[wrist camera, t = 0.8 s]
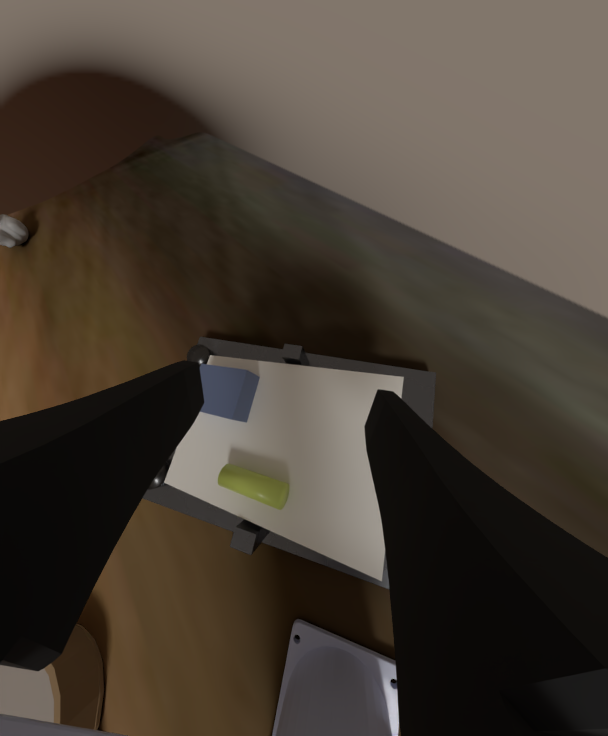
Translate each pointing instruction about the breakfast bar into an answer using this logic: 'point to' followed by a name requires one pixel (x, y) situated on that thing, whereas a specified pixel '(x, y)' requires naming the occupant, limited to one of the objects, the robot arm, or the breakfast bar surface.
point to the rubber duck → (12, 231)
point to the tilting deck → (288, 454)
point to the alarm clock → (58, 686)
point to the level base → (415, 382)
